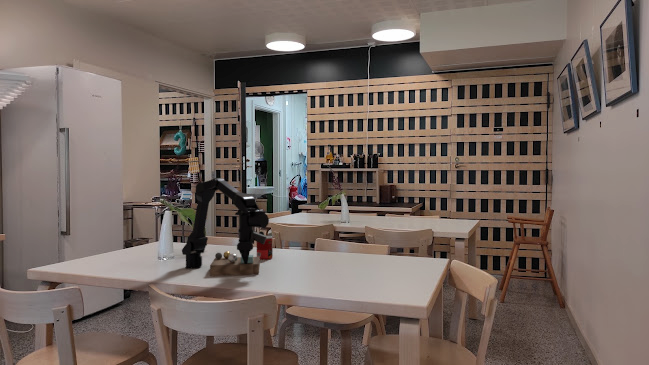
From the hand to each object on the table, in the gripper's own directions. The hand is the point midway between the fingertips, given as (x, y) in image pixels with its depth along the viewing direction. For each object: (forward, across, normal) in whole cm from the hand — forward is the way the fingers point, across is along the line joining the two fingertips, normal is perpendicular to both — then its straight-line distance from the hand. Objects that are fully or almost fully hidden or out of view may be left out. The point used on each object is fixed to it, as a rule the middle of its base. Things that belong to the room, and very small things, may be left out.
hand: (246, 263), depth 193 cm
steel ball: (-1, +6, +6) cm, 8 cm away
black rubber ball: (-1, +16, +13) cm, 20 cm away
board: (+5, +11, +5) cm, 13 cm away
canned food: (+5, +40, -7) cm, 41 cm away
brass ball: (-1, +17, +9) cm, 20 cm away
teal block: (0, +6, 0) cm, 6 cm away
